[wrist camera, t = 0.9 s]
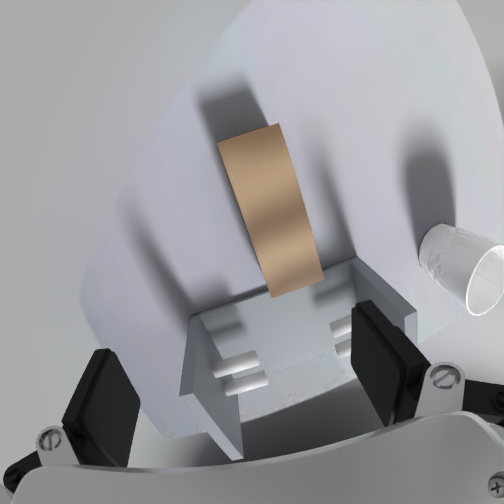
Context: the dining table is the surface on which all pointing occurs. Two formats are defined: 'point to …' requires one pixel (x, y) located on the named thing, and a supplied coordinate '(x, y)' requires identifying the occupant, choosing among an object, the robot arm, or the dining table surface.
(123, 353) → the dining table surface
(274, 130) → the shelf board
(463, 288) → the white cup
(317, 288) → the peg frame
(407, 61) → the dining table surface
